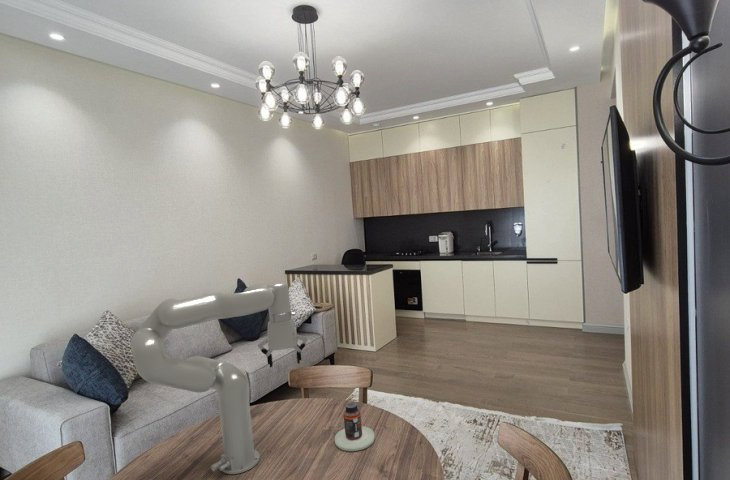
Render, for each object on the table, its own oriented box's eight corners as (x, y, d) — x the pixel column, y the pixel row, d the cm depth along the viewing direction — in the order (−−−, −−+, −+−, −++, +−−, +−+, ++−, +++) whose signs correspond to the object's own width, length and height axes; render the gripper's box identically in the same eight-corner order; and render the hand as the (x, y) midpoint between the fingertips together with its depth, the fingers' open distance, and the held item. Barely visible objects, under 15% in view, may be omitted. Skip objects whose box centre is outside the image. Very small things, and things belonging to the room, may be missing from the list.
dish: (358, 456, 131) (357, 451, 131) (326, 444, 140) (326, 440, 140) (382, 435, 142) (381, 431, 142) (351, 426, 151) (351, 422, 151)
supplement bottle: (362, 440, 138) (359, 408, 137) (345, 441, 138) (342, 409, 137) (362, 430, 144) (359, 400, 143) (346, 432, 144) (343, 401, 143)
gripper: (305, 311, 147) (309, 357, 148) (256, 317, 144) (261, 363, 145) (304, 316, 139) (309, 364, 140) (254, 322, 137) (259, 371, 138)
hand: (285, 364), depth 143 cm, fingers open, 9 cm apart
